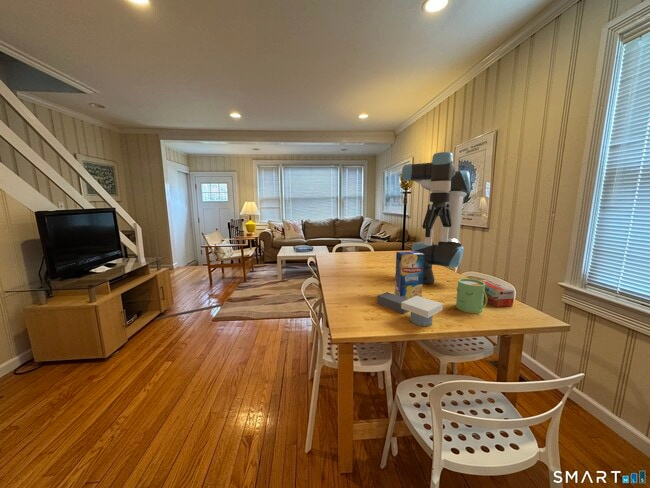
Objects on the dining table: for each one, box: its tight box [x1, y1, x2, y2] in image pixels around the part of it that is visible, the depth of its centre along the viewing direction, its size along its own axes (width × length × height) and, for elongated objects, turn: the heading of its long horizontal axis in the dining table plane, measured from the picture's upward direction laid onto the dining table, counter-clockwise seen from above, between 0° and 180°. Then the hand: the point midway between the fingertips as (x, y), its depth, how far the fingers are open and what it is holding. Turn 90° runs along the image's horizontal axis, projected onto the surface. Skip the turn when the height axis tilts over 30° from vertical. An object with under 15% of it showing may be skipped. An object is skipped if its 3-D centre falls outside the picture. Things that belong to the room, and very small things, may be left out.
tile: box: [401, 296, 444, 318], centre depth 98 cm, size 11×11×2 cm
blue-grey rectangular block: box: [376, 291, 410, 315], centre depth 112 cm, size 7×14×4 cm, turn 40°
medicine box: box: [478, 279, 515, 308], centre depth 119 cm, size 15×8×8 cm, turn 8°
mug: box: [455, 278, 488, 314], centre depth 109 cm, size 13×10×12 cm
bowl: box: [409, 312, 434, 327], centre depth 98 cm, size 8×8×5 cm
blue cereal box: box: [394, 251, 424, 299], centre depth 123 cm, size 7×11×22 cm, turn 96°
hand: (436, 243), depth 107 cm, fingers open, 13 cm apart
